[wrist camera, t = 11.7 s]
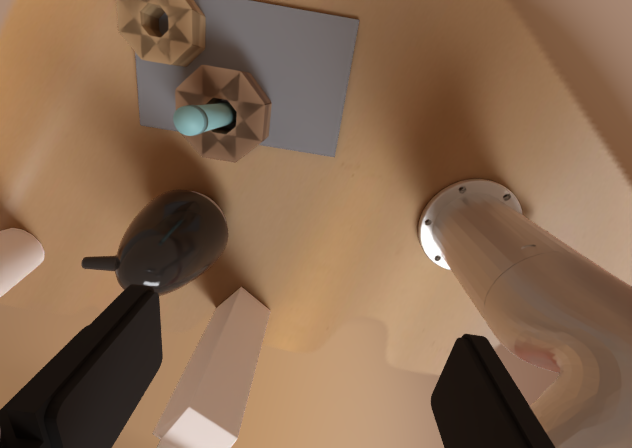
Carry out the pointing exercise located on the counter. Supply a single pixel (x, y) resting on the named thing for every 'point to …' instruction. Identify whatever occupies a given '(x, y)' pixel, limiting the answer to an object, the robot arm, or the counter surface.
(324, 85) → the mat
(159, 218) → the pump dispenser
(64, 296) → the counter surface
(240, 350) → the milk
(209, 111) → the teal rounded rod
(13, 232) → the foam cup
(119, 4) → the oak bead
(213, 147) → the bead
